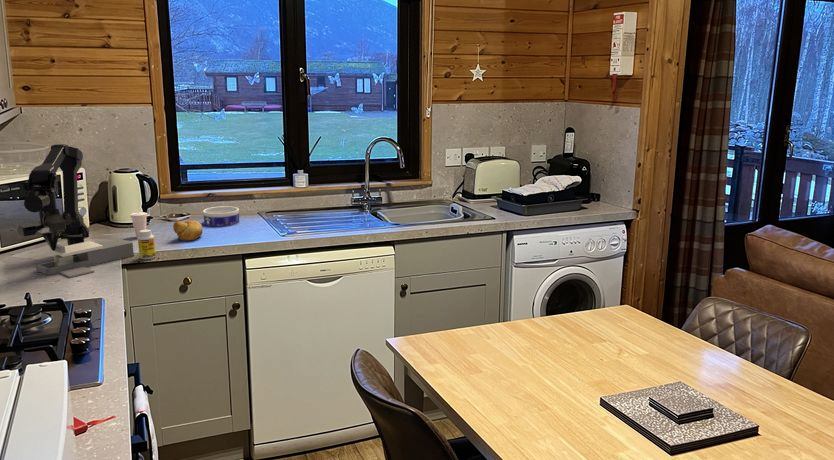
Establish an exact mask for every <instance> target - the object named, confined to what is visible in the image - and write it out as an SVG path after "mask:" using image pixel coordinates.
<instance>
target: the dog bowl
mask: <svg viewBox="0 0 834 460" xmlns="http://www.w3.org/2000/svg"><path fill="white" fill-rule="evenodd" d="M202 213H203V223H204V225H205V226H208V227H229V226H233V225H237V224H238V223H240V209H239V207H236V206H229V205H227V206H223V205H221V206H213V207H207V208H205V209H203V211H202Z"/></svg>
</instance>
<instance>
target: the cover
mask: <svg viewBox="0 0 834 460" xmlns="http://www.w3.org/2000/svg"><path fill="white" fill-rule="evenodd" d="M97 243H98V242H93V241H91V240H90V241H84V242H83V243H78V244H73V245H68V244H67V245H64V246H63V245H61V244H58V243H57V245H56V249H55V250H54V251H52V250H51V248H50V249H49V250H50V253H53V254H54V255H59V256H62V257H65V256H70V255H74V254H79V253H84V252H89V251H93V250H98V249H103V245H100V244H97Z"/></svg>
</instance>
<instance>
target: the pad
mask: <svg viewBox="0 0 834 460" xmlns="http://www.w3.org/2000/svg"><path fill="white" fill-rule="evenodd" d="M93 273H95V270H93V269H90V268H89V267H87V266H86V267H84V266H83V267H78V268H74V269H69V270H65V271H60V273H59V274H61V275H62V276H65V277H67V278H69V279H73V278H77V277H80V276H85V275H89V274H93Z"/></svg>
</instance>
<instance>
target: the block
mask: <svg viewBox="0 0 834 460" xmlns="http://www.w3.org/2000/svg"><path fill="white" fill-rule="evenodd" d="M73 257H74V256H73V255H70V256H65V257H62V256H59V255H57V254H55V255H53V261H54V262H55V267H57V266H62V265H66V264H71V263H74V262H73Z"/></svg>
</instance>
